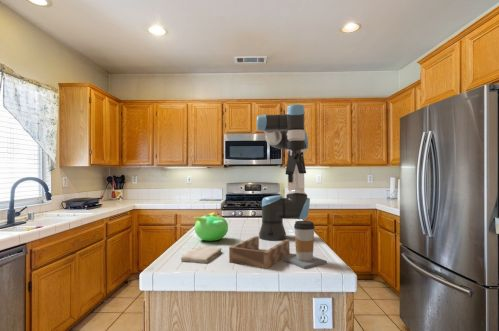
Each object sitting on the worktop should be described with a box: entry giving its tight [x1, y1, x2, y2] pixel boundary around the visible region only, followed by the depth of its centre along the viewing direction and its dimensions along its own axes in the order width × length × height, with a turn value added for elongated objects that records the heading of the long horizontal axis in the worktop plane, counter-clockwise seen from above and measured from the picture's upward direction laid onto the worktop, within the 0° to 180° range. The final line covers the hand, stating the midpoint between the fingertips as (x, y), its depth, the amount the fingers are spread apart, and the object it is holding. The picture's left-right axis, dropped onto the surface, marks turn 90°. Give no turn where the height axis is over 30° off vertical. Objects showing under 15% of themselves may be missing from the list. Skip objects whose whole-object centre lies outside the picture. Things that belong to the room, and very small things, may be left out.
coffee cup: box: [293, 220, 316, 262], centre depth 115 cm, size 8×8×15 cm
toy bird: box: [193, 212, 229, 242], centre depth 153 cm, size 18×17×15 cm
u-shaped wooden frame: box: [228, 235, 291, 270], centre depth 121 cm, size 24×17×6 cm
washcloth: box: [180, 246, 222, 264], centre depth 123 cm, size 12×18×3 cm, turn 166°
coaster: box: [283, 255, 328, 269], centre depth 114 cm, size 12×12×1 cm
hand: (296, 189), depth 124 cm, fingers open, 13 cm apart
